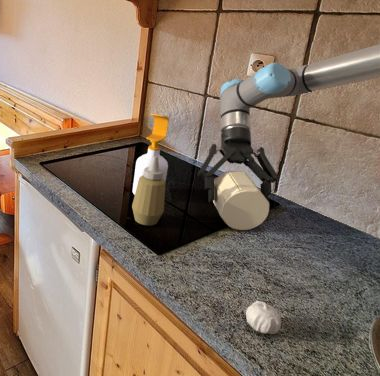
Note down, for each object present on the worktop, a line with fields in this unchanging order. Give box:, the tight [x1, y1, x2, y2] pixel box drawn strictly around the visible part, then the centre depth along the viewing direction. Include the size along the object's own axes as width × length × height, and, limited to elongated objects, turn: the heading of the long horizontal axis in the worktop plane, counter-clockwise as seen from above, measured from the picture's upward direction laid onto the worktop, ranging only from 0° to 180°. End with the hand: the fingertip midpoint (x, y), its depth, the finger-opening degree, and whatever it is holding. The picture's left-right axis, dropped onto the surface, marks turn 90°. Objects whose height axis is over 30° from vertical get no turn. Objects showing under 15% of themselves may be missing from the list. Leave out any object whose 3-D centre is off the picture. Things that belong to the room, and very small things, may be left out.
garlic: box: [245, 300, 282, 335], centre depth 71 cm, size 6×5×5 cm
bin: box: [212, 170, 271, 231], centre depth 107 cm, size 11×11×13 cm
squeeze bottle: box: [131, 156, 166, 227], centre depth 103 cm, size 8×8×18 cm
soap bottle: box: [132, 113, 170, 196], centre depth 116 cm, size 9×9×25 cm
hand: (238, 203), depth 107 cm, fingers open, 13 cm apart
